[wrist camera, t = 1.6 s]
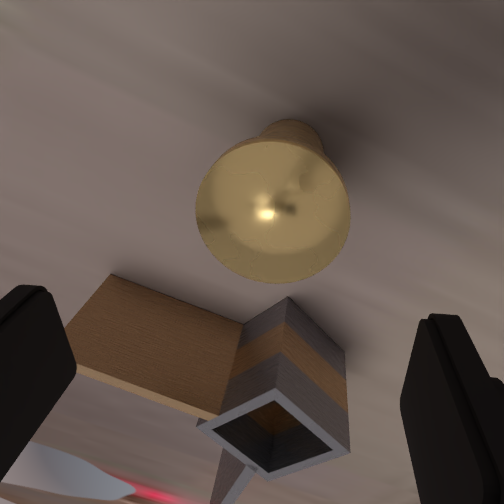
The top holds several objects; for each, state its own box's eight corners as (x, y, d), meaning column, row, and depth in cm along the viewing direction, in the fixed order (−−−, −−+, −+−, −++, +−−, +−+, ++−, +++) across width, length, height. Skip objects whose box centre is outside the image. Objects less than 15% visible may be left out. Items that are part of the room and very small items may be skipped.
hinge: (189, 200, 24) (138, 268, 18) (371, 379, 30) (385, 483, 23) (66, 314, 32) (-4, 393, 25) (230, 441, 37) (209, 533, 31)
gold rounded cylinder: (294, 74, 20) (276, 104, 12) (363, 160, 21) (383, 230, 14) (216, 150, 22) (165, 210, 15) (283, 221, 24) (265, 305, 17)
